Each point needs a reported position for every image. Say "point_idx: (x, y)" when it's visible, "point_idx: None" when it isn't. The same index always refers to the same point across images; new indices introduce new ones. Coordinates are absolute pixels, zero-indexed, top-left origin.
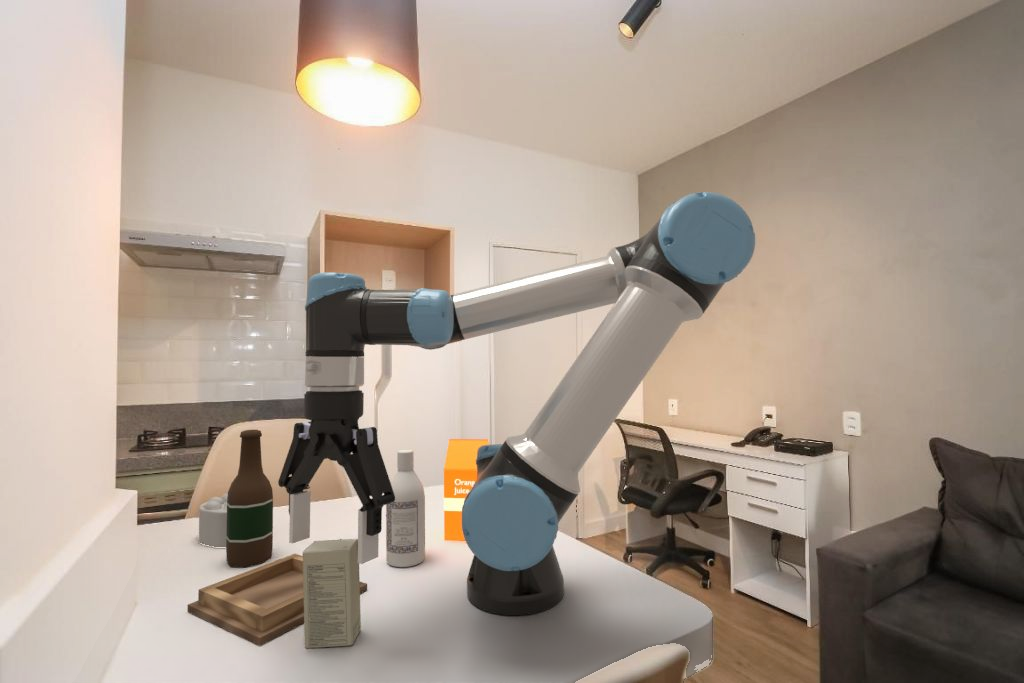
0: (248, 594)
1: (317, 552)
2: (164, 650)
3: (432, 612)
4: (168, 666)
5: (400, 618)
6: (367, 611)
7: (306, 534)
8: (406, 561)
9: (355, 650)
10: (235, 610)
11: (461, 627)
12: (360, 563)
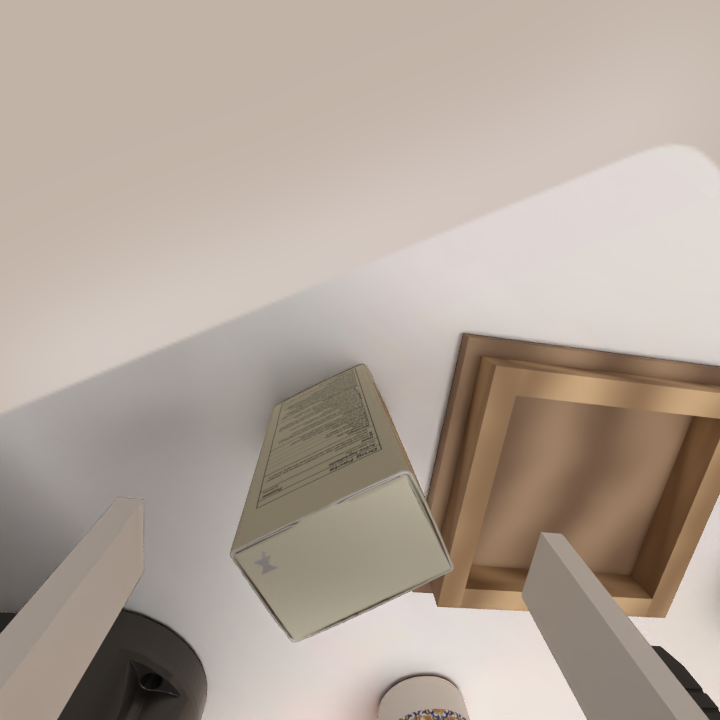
0: (643, 458)
1: (348, 493)
2: (649, 242)
3: (210, 564)
4: (589, 203)
5: None
6: None
7: (532, 598)
8: (397, 696)
9: (257, 398)
10: (597, 375)
11: None
12: (124, 498)
